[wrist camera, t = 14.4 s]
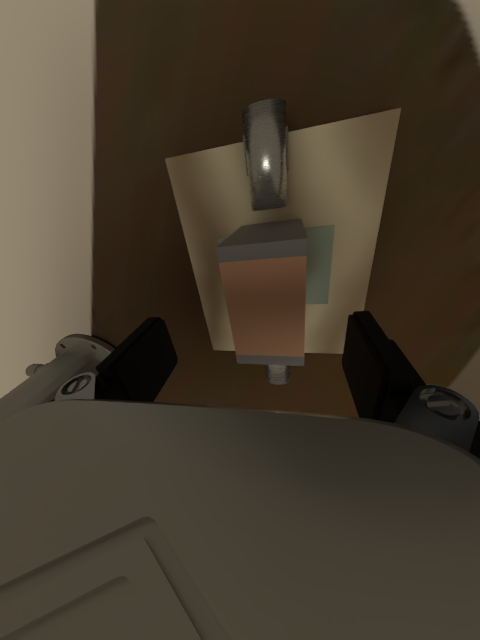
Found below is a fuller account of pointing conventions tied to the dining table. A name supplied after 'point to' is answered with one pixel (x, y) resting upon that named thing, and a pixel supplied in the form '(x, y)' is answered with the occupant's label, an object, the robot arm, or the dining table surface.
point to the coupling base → (295, 217)
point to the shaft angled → (277, 374)
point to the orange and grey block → (266, 291)
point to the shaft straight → (266, 153)
